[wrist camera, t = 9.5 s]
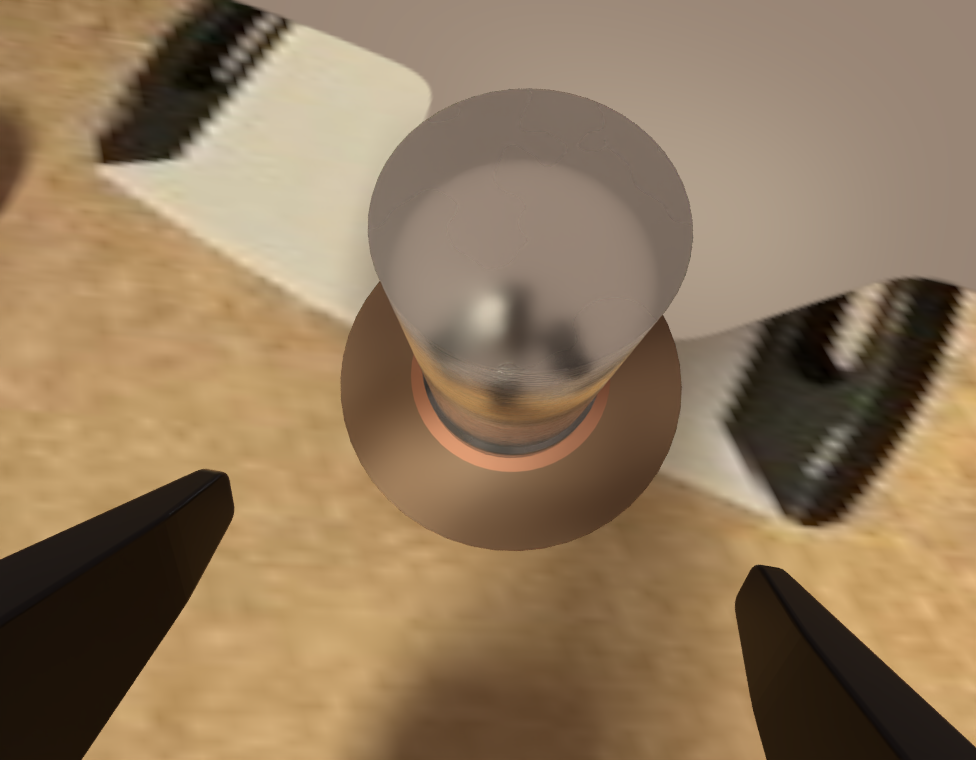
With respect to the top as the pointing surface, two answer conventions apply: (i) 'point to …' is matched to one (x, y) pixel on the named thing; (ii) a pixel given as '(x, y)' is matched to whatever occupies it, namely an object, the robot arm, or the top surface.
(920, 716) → the robot arm
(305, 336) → the top surface
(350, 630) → the top surface
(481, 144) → the canister
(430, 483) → the turntable
